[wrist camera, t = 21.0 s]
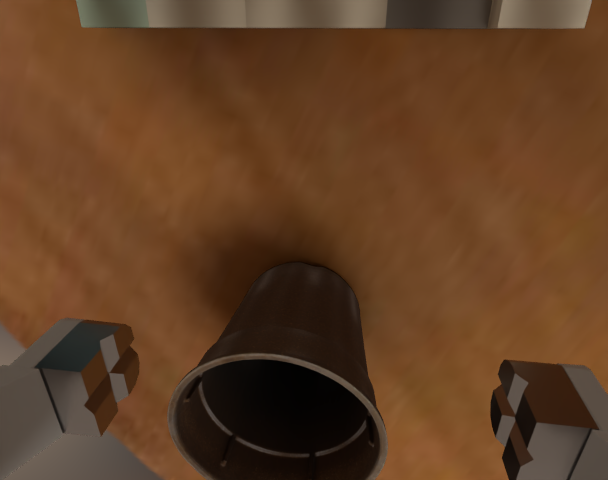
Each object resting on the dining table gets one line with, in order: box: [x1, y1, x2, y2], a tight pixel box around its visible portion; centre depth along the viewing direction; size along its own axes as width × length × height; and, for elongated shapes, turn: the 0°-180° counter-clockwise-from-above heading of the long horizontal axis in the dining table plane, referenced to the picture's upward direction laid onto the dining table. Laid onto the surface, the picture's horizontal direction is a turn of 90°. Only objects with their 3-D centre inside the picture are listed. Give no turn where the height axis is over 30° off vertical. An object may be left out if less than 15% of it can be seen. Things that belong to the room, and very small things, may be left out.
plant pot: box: [168, 262, 388, 480], centre depth 37 cm, size 16×16×16 cm
